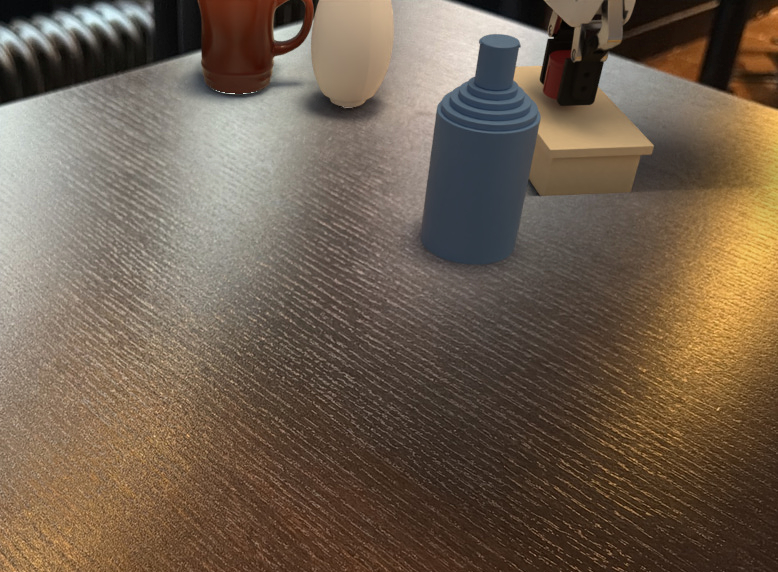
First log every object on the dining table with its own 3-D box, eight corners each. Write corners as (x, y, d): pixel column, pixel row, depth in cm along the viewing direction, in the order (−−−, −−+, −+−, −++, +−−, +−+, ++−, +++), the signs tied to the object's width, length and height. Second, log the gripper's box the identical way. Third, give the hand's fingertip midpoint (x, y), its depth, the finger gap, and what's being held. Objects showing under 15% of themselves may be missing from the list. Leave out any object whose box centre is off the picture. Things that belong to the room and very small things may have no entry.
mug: (195, 102, 101) (192, -3, 95) (195, 69, 108) (193, -30, 101) (313, 101, 101) (318, -3, 95) (306, 68, 108) (311, -31, 102)
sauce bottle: (371, 126, 97) (388, -73, 85) (296, 112, 99) (304, -83, 88) (396, 97, 102) (416, -94, 91) (325, 84, 105) (336, -103, 93)
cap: (550, 102, 87) (557, 67, 85) (535, 85, 90) (542, 50, 88) (595, 101, 87) (603, 65, 85) (579, 83, 90) (587, 49, 88)
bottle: (496, 233, 81) (535, 20, 70) (523, 281, 75) (570, 58, 65) (408, 237, 80) (435, 23, 70) (429, 285, 75) (461, 61, 64)
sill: (567, 114, 99) (577, 64, 96) (639, 200, 85) (654, 145, 82) (480, 117, 99) (488, 67, 95) (538, 204, 85) (550, 149, 82)
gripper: (534, -159, 83) (497, 59, 94) (609, -111, 70) (555, 135, 82) (622, -160, 83) (574, 58, 95) (712, -112, 71) (644, 132, 82)
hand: (566, 91), depth 88 cm, fingers closed on cap, 3 cm apart
